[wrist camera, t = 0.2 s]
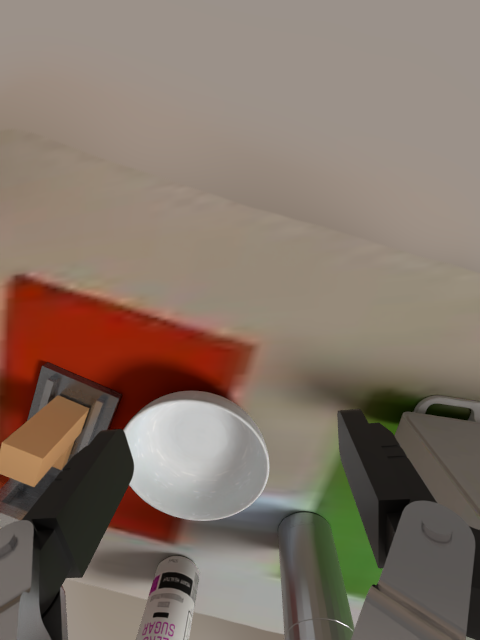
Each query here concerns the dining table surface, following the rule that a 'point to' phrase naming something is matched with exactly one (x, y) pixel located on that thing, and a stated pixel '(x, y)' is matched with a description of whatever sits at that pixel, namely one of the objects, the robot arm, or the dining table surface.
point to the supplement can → (170, 601)
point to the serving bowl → (197, 456)
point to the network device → (446, 454)
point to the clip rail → (102, 406)
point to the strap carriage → (42, 441)
